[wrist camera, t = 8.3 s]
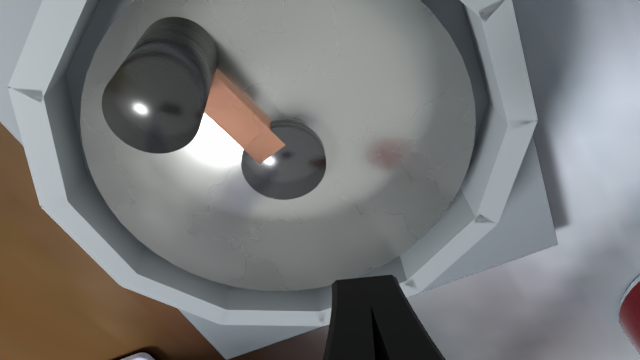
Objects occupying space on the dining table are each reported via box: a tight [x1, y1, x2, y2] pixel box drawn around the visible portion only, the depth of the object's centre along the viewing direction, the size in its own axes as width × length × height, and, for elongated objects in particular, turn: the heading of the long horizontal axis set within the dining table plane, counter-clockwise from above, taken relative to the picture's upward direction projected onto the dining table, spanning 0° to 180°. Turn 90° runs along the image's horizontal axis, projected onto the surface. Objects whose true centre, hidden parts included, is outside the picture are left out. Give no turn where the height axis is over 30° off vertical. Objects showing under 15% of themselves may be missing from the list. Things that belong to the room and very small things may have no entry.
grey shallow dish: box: [0, 0, 558, 360], centre depth 19 cm, size 18×22×3 cm
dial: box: [80, 0, 476, 291], centre depth 17 cm, size 14×14×5 cm
